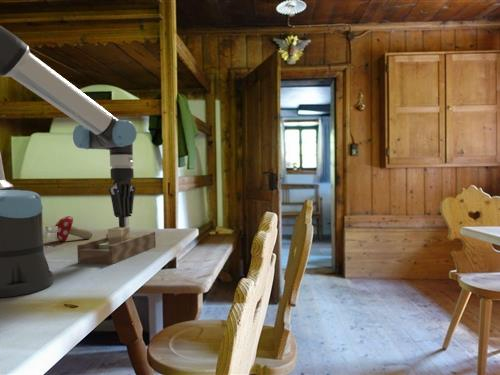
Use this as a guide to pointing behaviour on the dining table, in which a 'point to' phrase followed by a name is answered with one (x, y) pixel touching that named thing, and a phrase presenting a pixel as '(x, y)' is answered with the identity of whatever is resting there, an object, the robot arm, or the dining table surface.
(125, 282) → the dining table surface
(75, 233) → the decorative mushroom
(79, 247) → the box
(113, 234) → the maple block
